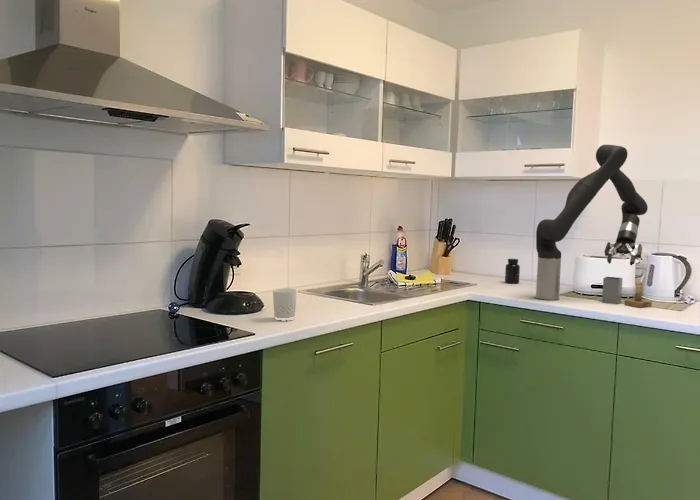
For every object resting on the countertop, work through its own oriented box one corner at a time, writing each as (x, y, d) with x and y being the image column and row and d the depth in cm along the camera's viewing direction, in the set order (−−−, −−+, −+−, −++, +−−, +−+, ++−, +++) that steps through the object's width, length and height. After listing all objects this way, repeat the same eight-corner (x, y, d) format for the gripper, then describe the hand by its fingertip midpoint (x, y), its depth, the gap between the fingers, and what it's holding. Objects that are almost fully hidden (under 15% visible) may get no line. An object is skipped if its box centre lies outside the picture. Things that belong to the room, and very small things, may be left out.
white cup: (280, 323, 194) (280, 293, 193) (268, 318, 201) (268, 289, 200) (300, 320, 199) (300, 291, 198) (288, 316, 205) (289, 287, 204)
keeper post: (640, 308, 229) (642, 283, 228) (624, 305, 235) (625, 280, 234) (651, 306, 233) (653, 282, 232) (635, 303, 239) (636, 279, 238)
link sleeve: (602, 302, 241) (603, 278, 240) (605, 300, 246) (606, 276, 245) (617, 304, 237) (619, 279, 236) (621, 302, 242) (622, 278, 241)
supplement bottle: (519, 284, 287) (520, 259, 285) (505, 283, 288) (506, 259, 287) (518, 282, 293) (519, 258, 292) (504, 281, 295) (505, 257, 294)
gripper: (608, 228, 259) (601, 256, 251) (644, 229, 251) (637, 258, 243) (611, 239, 264) (603, 267, 256) (645, 241, 256) (639, 270, 247)
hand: (620, 263), depth 249 cm, fingers open, 8 cm apart
